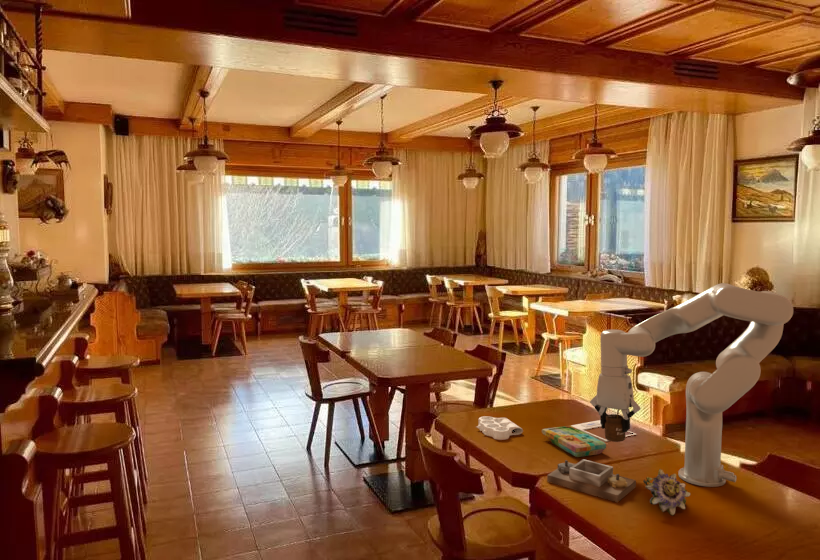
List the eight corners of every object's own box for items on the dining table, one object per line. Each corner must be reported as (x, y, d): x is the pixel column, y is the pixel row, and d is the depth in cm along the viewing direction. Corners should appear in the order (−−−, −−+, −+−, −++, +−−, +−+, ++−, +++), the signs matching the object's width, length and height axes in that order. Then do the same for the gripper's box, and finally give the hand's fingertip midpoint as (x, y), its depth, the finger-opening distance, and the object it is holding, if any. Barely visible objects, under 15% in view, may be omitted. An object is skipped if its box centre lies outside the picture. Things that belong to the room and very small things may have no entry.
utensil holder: (601, 439, 186) (600, 400, 186) (611, 434, 191) (610, 396, 190) (619, 443, 182) (618, 404, 181) (629, 438, 187) (628, 399, 186)
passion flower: (670, 534, 159) (655, 505, 154) (642, 508, 169) (627, 480, 164) (703, 507, 161) (689, 477, 156) (674, 483, 171) (659, 455, 166)
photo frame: (600, 419, 235) (636, 433, 219) (600, 422, 235) (636, 436, 219) (570, 425, 228) (605, 439, 212) (570, 427, 228) (605, 443, 212)
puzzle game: (575, 445, 196) (541, 426, 215) (575, 460, 197) (541, 439, 215) (606, 441, 200) (570, 423, 219) (605, 455, 201) (570, 436, 219)
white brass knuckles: (527, 438, 217) (488, 442, 213) (505, 422, 235) (469, 426, 230) (527, 428, 217) (488, 432, 213) (505, 414, 234) (469, 417, 230)
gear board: (635, 487, 175) (636, 470, 175) (617, 502, 165) (617, 484, 165) (567, 468, 189) (568, 452, 189) (547, 481, 179) (547, 464, 179)
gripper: (647, 371, 182) (648, 431, 184) (592, 365, 194) (593, 421, 195) (637, 376, 177) (638, 438, 178) (581, 370, 188) (583, 427, 189)
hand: (615, 428), depth 186 cm, fingers closed on utensil holder, 5 cm apart
